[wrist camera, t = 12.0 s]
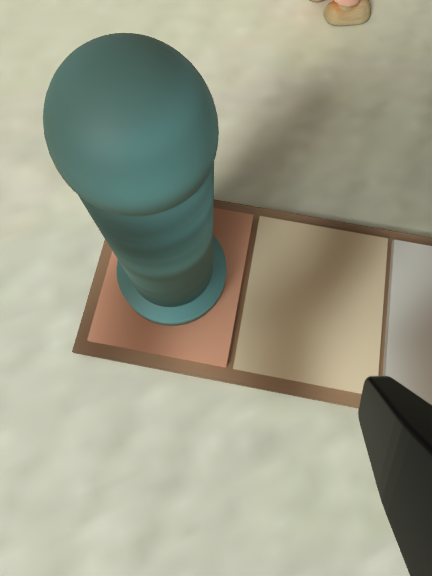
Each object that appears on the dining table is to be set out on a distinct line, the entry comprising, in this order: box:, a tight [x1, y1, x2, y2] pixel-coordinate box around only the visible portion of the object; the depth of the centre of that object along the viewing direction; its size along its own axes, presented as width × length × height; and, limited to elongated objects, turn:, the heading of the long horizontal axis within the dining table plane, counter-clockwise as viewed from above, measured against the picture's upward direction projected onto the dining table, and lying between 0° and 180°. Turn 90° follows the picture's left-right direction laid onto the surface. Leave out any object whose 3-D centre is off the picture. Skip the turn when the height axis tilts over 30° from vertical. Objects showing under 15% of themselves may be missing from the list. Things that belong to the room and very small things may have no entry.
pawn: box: [43, 33, 226, 326], centre depth 13 cm, size 5×5×12 cm
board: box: [72, 199, 432, 408], centre depth 19 cm, size 20×9×1 cm, turn 79°
